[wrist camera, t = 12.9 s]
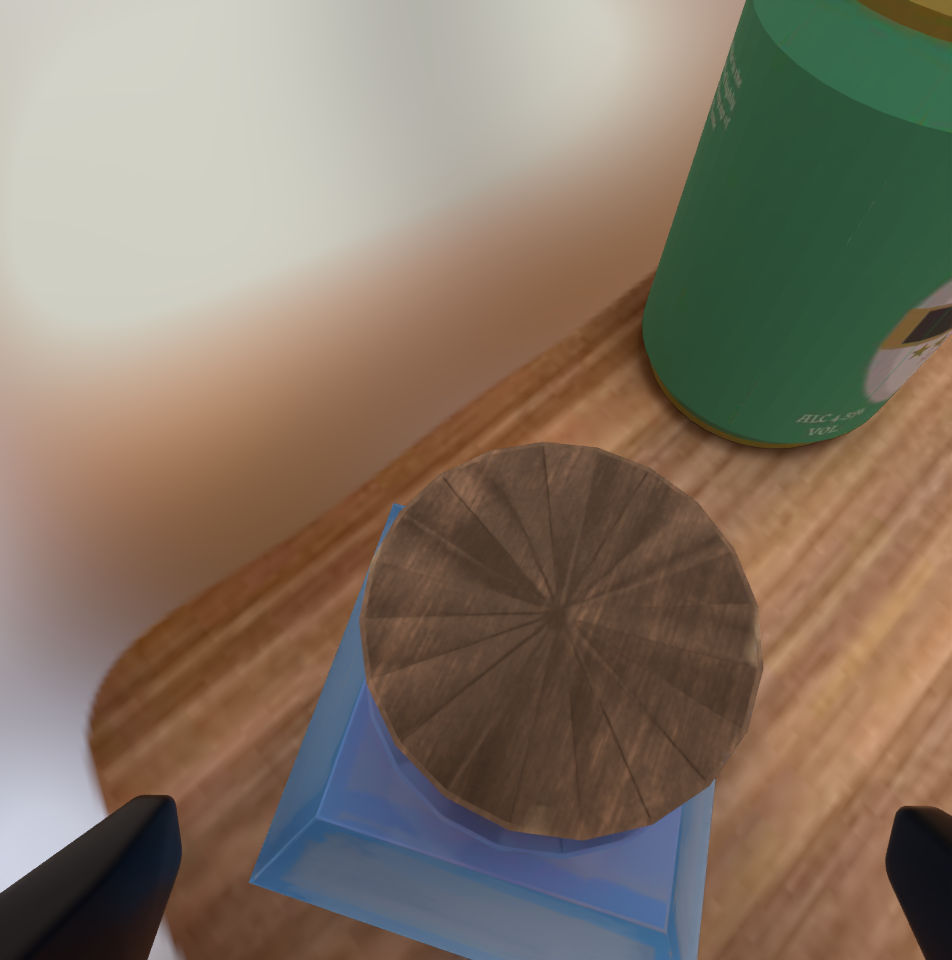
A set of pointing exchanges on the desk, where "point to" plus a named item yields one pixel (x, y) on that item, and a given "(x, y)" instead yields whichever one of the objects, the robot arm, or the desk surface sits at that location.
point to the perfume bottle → (527, 717)
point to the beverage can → (811, 223)
